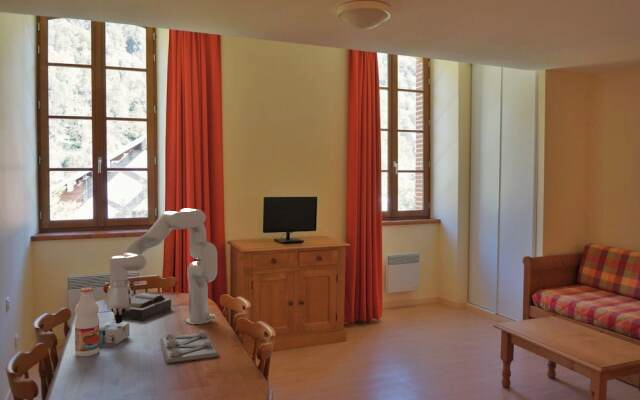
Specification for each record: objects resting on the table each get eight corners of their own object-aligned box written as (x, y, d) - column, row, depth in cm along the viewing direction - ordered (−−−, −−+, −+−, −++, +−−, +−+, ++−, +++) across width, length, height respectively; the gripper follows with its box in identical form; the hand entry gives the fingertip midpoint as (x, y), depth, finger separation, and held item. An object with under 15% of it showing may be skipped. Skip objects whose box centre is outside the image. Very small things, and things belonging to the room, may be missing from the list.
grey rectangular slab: (219, 358, 204) (219, 342, 203) (166, 366, 195) (166, 348, 195) (207, 336, 231) (207, 322, 231) (160, 342, 223) (160, 327, 223)
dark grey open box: (177, 311, 272) (177, 294, 272) (136, 323, 249) (136, 305, 249) (149, 305, 285) (149, 288, 284) (108, 316, 262) (108, 298, 261)
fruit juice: (86, 348, 213) (86, 285, 212) (104, 350, 210) (103, 287, 209) (70, 355, 204) (69, 290, 203) (88, 358, 201) (87, 291, 200)
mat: (129, 335, 230) (129, 334, 230) (112, 347, 214) (112, 346, 214) (100, 334, 231) (100, 333, 231) (82, 346, 215) (82, 345, 215)
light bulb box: (117, 329, 217) (95, 328, 218) (117, 344, 217) (95, 342, 219) (129, 322, 228) (108, 320, 229) (129, 336, 228) (108, 334, 229)
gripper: (138, 281, 224) (138, 320, 225) (106, 280, 225) (107, 319, 226) (131, 285, 217) (131, 325, 218) (98, 284, 218) (99, 324, 219)
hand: (119, 322), depth 222 cm, fingers closed
